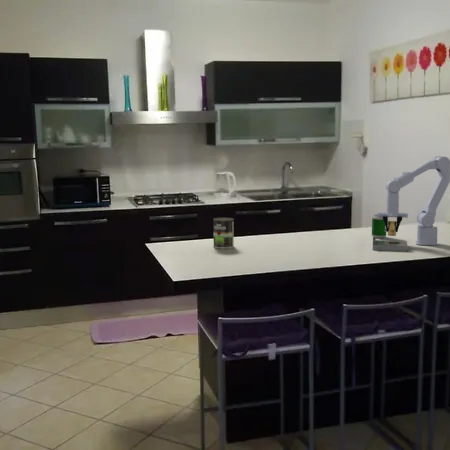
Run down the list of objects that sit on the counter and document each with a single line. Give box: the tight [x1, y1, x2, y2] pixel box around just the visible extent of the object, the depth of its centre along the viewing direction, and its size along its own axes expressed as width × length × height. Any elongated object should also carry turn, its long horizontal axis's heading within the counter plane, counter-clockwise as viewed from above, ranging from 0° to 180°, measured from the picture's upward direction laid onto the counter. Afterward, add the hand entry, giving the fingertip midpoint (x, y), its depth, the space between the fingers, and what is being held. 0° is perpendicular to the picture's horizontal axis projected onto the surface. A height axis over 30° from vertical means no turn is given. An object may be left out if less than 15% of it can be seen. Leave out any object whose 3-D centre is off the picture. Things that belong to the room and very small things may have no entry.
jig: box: [372, 236, 409, 252], centre depth 272 cm, size 16×12×4 cm
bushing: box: [387, 220, 397, 237], centre depth 281 cm, size 4×4×7 cm
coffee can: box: [212, 217, 235, 250], centre depth 280 cm, size 10×10×14 cm
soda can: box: [371, 214, 387, 240], centre depth 298 cm, size 8×8×12 cm
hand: (392, 231), depth 281 cm, fingers closed on bushing, 4 cm apart
